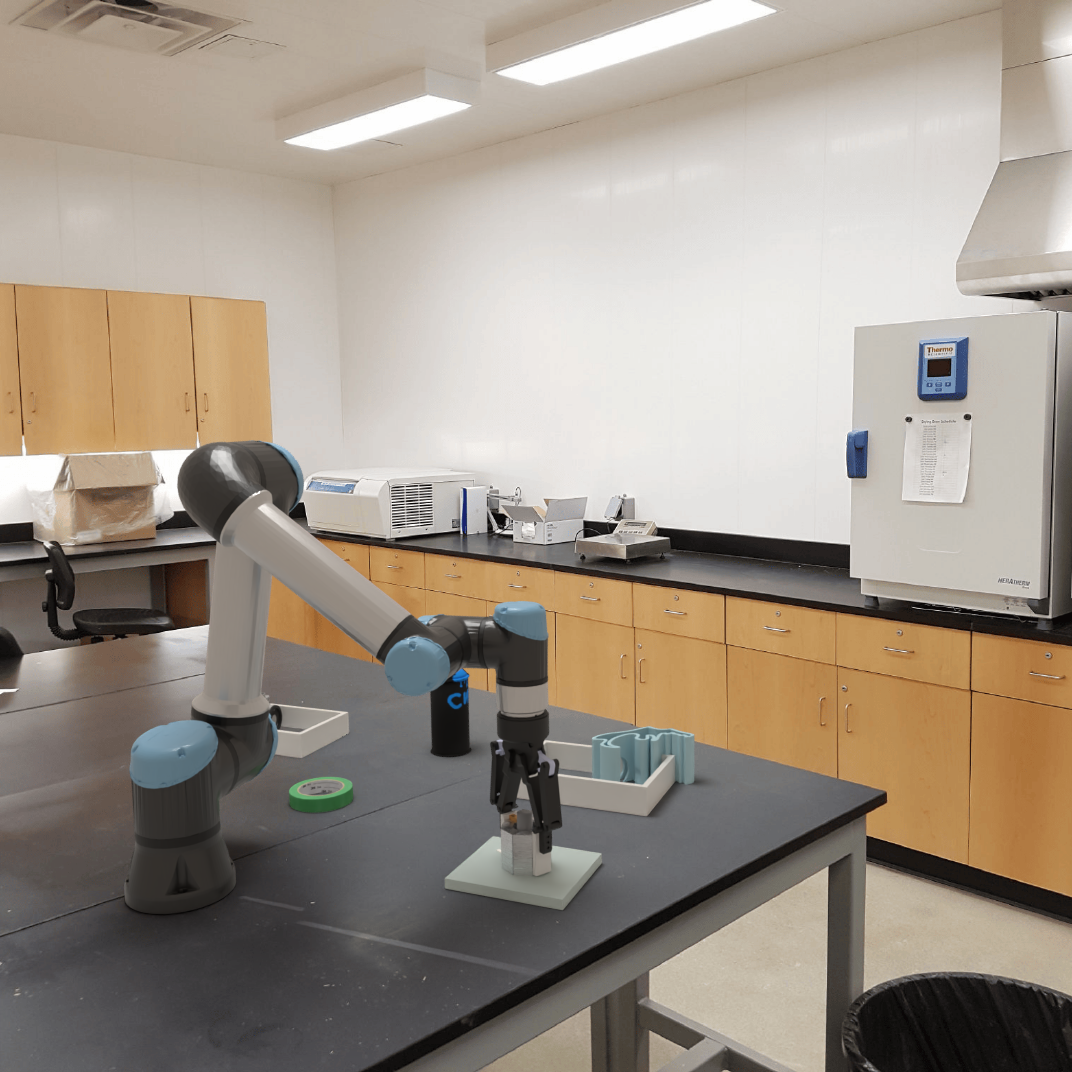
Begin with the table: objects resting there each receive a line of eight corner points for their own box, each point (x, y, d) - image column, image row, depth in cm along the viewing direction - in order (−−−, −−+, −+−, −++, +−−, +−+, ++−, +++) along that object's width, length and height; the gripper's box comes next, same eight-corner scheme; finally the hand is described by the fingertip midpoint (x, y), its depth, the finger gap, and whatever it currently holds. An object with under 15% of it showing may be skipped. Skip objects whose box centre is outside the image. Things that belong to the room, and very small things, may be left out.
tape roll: (290, 816, 171) (289, 801, 171) (288, 794, 182) (287, 780, 182) (356, 809, 174) (355, 794, 174) (350, 787, 185) (349, 773, 185)
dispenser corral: (646, 816, 168) (646, 787, 168) (505, 796, 178) (505, 769, 178) (675, 781, 185) (675, 755, 184) (544, 765, 195) (544, 740, 194)
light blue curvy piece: (664, 769, 193) (664, 722, 192) (696, 785, 184) (696, 735, 183) (584, 787, 184) (584, 737, 183) (615, 804, 175) (614, 752, 174)
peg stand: (562, 910, 136) (561, 842, 135) (444, 888, 143) (443, 823, 142) (601, 863, 150) (601, 801, 149) (493, 845, 157) (492, 786, 156)
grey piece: (560, 866, 146) (559, 822, 145) (521, 880, 142) (520, 835, 141) (531, 850, 151) (530, 808, 151) (493, 863, 147) (491, 820, 147)
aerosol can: (422, 754, 202) (419, 657, 200) (444, 743, 210) (442, 649, 207) (457, 760, 198) (454, 661, 196) (478, 748, 206) (476, 652, 204)
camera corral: (301, 758, 201) (300, 734, 200) (206, 745, 210) (205, 722, 210) (349, 734, 216) (348, 712, 216) (258, 723, 226) (257, 702, 225)
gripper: (587, 720, 138) (589, 880, 141) (503, 692, 154) (507, 836, 157) (544, 730, 134) (547, 895, 136) (462, 700, 150) (466, 848, 152)
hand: (525, 863), depth 146 cm, fingers closed on grey piece, 7 cm apart
